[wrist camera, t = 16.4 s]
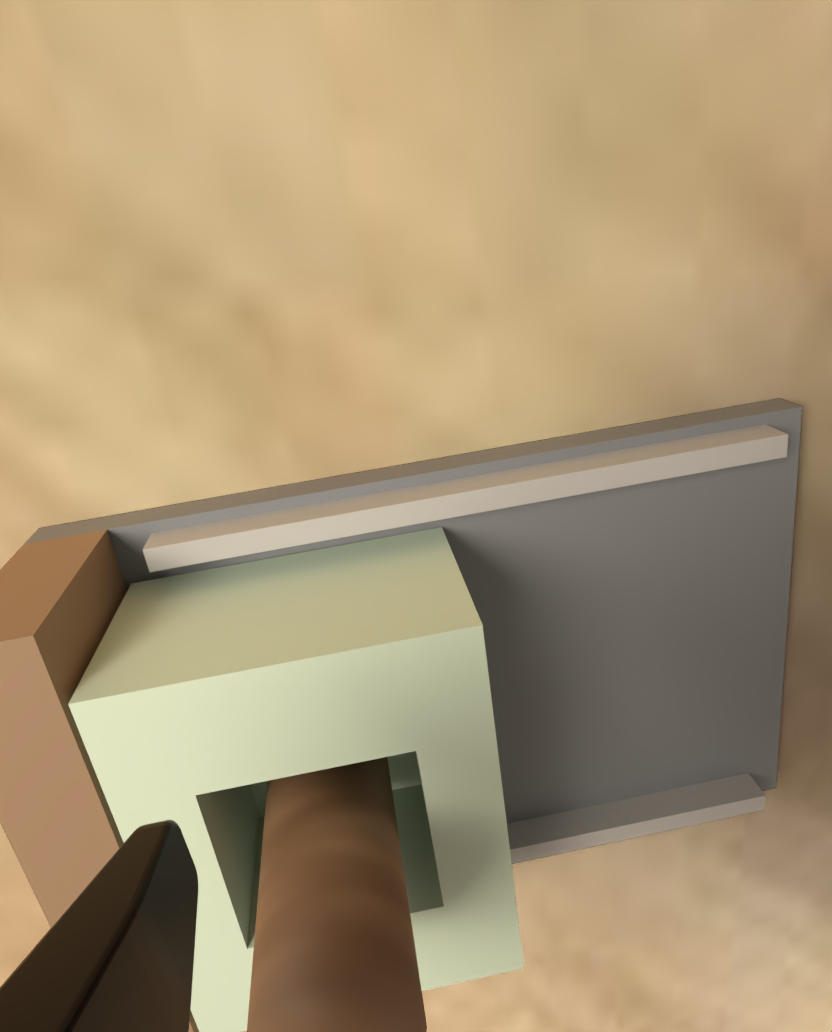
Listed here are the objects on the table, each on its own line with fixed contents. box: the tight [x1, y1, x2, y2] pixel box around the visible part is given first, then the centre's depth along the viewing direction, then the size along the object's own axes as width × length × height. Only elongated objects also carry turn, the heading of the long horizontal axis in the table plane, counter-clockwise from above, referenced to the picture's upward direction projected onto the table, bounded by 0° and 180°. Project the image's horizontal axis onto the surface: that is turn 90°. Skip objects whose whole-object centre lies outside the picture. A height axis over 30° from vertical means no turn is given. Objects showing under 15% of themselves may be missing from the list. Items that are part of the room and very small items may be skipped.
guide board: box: [0, 398, 802, 1032], centre depth 19 cm, size 20×13×6 cm, turn 98°
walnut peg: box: [247, 757, 427, 1032], centre depth 16 cm, size 3×3×8 cm
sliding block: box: [68, 527, 524, 1032], centre depth 18 cm, size 8×10×5 cm
